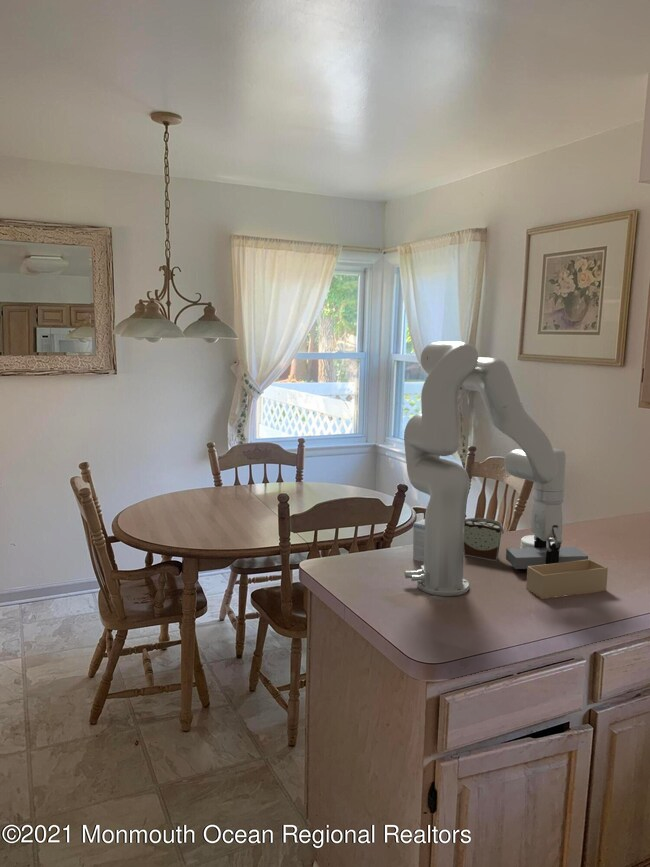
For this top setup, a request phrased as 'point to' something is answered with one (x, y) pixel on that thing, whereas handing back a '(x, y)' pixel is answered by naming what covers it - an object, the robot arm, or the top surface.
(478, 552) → the food container
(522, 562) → the lid
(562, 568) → the tan open box
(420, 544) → the light bulb box
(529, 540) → the white short cylinder
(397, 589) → the top surface
